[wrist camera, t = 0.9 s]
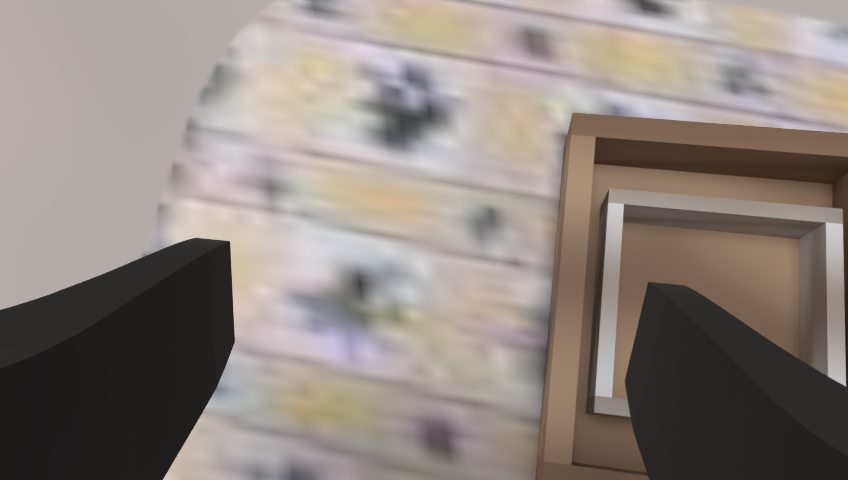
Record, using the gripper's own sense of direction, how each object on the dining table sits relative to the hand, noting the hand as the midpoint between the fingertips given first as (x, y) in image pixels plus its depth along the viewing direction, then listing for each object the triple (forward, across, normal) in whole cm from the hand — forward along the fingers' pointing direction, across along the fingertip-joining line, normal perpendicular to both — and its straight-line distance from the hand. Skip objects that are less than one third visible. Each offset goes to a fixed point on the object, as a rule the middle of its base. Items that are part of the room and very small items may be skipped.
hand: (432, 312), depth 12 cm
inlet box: (+11, -9, +6) cm, 15 cm away
